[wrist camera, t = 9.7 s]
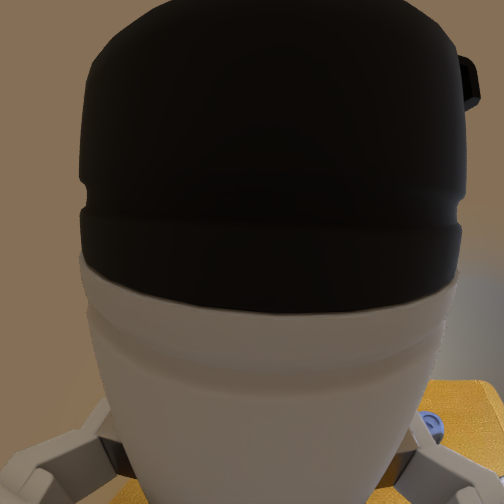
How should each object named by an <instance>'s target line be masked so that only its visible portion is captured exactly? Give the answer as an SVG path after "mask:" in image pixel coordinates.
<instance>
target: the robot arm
mask: <svg viewBox="0 0 504 504" xmlns="http://www.w3.org/2000/svg"><path fill="white" fill-rule="evenodd" d="M117 474H118V475H122V476H125V477H129V478H133V479H137V477H136V475H135V473H134V470H133V468H132V466H131V463H130V461H129V459H128V456H127V454H126V451H125V449H124V446H123V443H122V441H121V438H120V435H119V433H118V430H117V427H116V424H115V421H114V419H113V416H112V413H111V410H110V406H109V403H108V400H107V398H106V397H104V398H102V399H101V400H100V401H99V402H98V404H97V405H96V407H95V408H94V409H93V411H92V412H91V414H90V415H89V416H88V418H87V419H86V421H85V422H84V424H83V425H82V427H81V428H80V429H79V430H77V429H74V430H71V431H69V432H67V433H64V434H62V435H59V436H57V437H55V438H52V439H50V440H47V441H44V442H42V443H39V444H37V445H34V446H31V447H29V448H26V449H23V450H21V451H18V452H15V453H14V455H13V456H12V457H11V458H10V460H9V461H8V462H7V464H6V465H5V466H4V468H3V469H2V470H1V471H0V504H75V503H77V502H78V501H80V500H82V499H83V498H85V497H86V496H88V495H89V494H91V493H93V492H94V491H96V490H97V489H99V488H100V487H102V486H103V485H104V484H106V483H108V482H109V481H111V480H112V479H113V478H115V477H116V476H117ZM137 480H138V479H137ZM391 486H394V488H395V489H396V490H397V491H398V492H399V493H400V494H402V495H403V496H404V497H405V498H406V499H407V500H408V501H410V502H411V503H412V504H504V486H503V484H502V482H501V481H500V479H499V477H498V476H497V474H496V473H495V472H493V471H491V470H489V469H487V468H485V467H483V466H481V465H479V464H477V463H475V462H473V461H471V460H469V459H468V458H466V457H464V456H462V455H460V454H458V453H456V452H454V451H453V450H451V449H449V448H447V447H445V446H444V445H442V444H439V445H437V444H436V443H435V441H434V439H433V437H432V435H431V433H430V432H429V430H428V428H427V426H426V424H425V423H424V421H423V419H422V417H421V415H420V414H419V412H418V411H416V413H415V415H414V417H413V420H412V422H411V424H410V426H409V428H408V430H407V432H406V434H405V436H404V438H403V440H402V442H401V444H400V446H399V448H398V450H397V452H396V453H395V455H394V457H393V459H392V461H391V463H390V464H389V466H388V468H387V469H386V471H385V473H384V475H383V476H382V478H381V480H380V481H379V483H378V484H377V486H376V488H375V489H380V488H386V487H391Z"/></svg>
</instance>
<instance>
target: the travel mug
mask: <svg viewBox="0 0 504 504" xmlns="http://www.w3.org/2000/svg"><path fill="white" fill-rule="evenodd" d="M480 99H481V95H480V88H479V82H478V75H477V70H476V67H475V65H474V64H473V62H472V61H471V60H469V59H468V58H466V57H463V56H460V55H457V51H456V47H455V45H454V44H453V43H452V41H451V40H450V39H449V37H448V36H447V35H446V33H445V32H444V31H443V29H442V28H441V27H440V26H439V24H438V23H436V22H435V21H434V20H432V19H431V18H430V17H428V16H427V15H425V14H424V13H423V12H421V11H420V10H418V9H417V8H415V7H414V6H412V5H411V4H409V3H408V2H406V1H404V0H171V1H168V2H166V3H164V4H162V5H159V6H157V7H155V8H153V9H152V10H150V11H149V12H147V13H146V14H144V15H143V16H141V17H140V18H138V19H137V20H135V21H134V22H133V23H131V24H130V25H128V26H127V27H126V28H124V29H123V30H122V31H120V32H119V33H118V34H117V35H115V36H114V37H113V38H112V39H111V40H110V41H109V42H108V44H107V45H106V46H105V47H104V49H103V50H102V51H101V52H100V53H99V55H98V56H97V57H96V59H95V60H94V61H93V63H92V66H91V68H90V71H89V75H88V78H87V81H86V87H85V95H84V105H83V114H82V124H81V137H80V156H79V178H80V181H81V182H82V183H83V184H85V186H86V189H87V202H86V206H85V207H84V208H83V209H81V212H80V232H81V244H82V251H81V253H80V255H79V264H80V272H81V280H82V284H83V287H84V290H85V294H86V296H87V298H88V301H89V302H88V308H87V318H88V323H89V329H90V334H91V338H92V343H93V347H94V352H95V356H96V360H97V364H98V368H99V372H100V376H101V379H102V383H103V387H104V390H105V393H106V397H107V400H108V403H109V406H110V410H111V413H112V416H113V419H114V421H115V424H116V427H117V430H118V433H119V435H120V438H121V441H122V443H123V446H124V449H125V451H126V454H127V456H128V459H129V461H130V463H131V466H132V468H133V470H134V473H135V475H136V477H137V479H138V481H139V484H140V486H141V488H142V490H143V492H144V494H145V496H146V498H147V500H148V502H149V504H365V503H366V501H367V500H368V498H369V497H370V495H371V494H372V492H373V491H374V489H375V488H376V486H377V484H378V483H379V481H380V480H381V478H382V476H383V475H384V473H385V471H386V469H387V468H388V466H389V464H390V463H391V461H392V459H393V457H394V455H395V453H396V452H397V450H398V448H399V446H400V444H401V442H402V440H403V438H404V436H405V434H406V432H407V430H408V428H409V426H410V424H411V422H412V420H413V417H414V415H415V413H416V411H417V408H418V406H419V404H420V401H421V399H422V397H423V394H424V392H425V389H426V387H427V384H428V382H429V379H430V376H431V373H432V370H433V368H434V365H435V362H436V359H437V356H438V353H439V350H440V347H441V344H442V341H443V338H444V334H445V331H446V321H445V318H446V317H447V315H448V314H449V312H450V310H451V307H452V304H453V300H454V296H455V291H456V287H457V282H458V277H459V271H458V269H457V262H458V256H459V251H460V244H461V236H462V228H461V225H460V224H459V223H458V222H457V215H456V213H457V205H458V203H459V201H460V200H461V199H463V198H464V196H465V194H466V174H467V173H466V171H467V168H466V167H467V153H466V152H467V150H466V149H467V147H466V123H465V111H467V110H469V109H471V108H473V107H474V106H476V105H477V104H478V103H479V101H480Z"/></svg>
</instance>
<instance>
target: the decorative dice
mask: <svg viewBox="0 0 504 504" xmlns="http://www.w3.org/2000/svg"><path fill="white" fill-rule="evenodd" d="M419 414H420V415H421V417H422V419H423V421H424V423H425V424H426V426H427V428H428V430H429V432H430V433H431V435H432V437H433V439H434V441H435V443H436V444H437V445H439V443H440V442H441V440H442V439H443V436H444V425H443V422H442V420H441V419H440V418H439V417H438V416H437V415H436V414H434V413H432V412H428V411H422V412H419Z"/></svg>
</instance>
